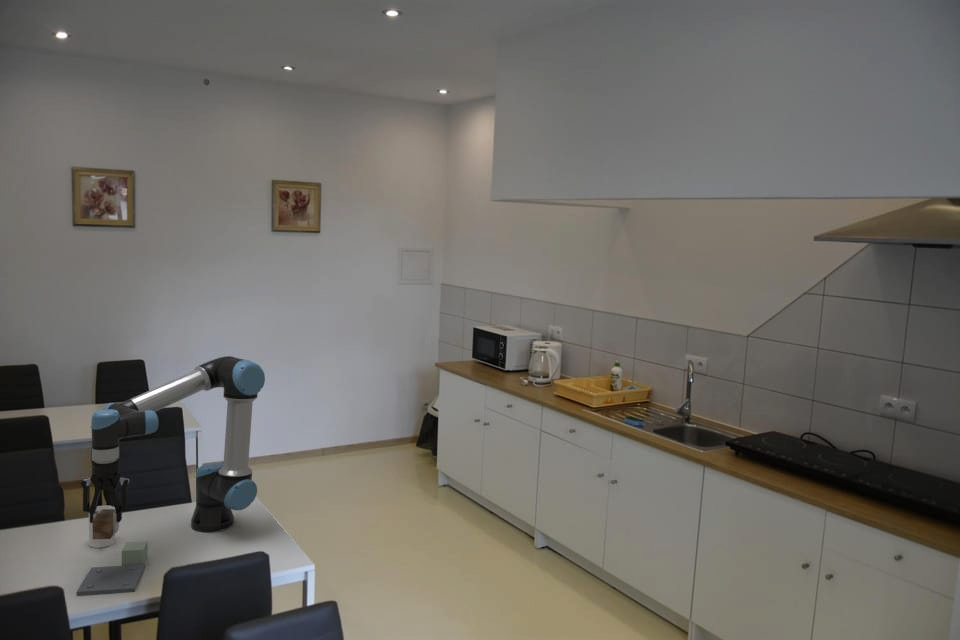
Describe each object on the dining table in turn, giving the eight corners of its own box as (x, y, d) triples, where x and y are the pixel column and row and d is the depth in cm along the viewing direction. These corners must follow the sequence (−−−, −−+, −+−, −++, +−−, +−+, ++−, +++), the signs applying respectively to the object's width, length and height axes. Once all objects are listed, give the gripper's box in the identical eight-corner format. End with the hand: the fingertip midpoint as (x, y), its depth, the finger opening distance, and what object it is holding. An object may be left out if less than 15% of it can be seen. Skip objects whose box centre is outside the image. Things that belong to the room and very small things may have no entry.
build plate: (145, 567, 232) (145, 563, 232) (134, 591, 217) (134, 587, 217) (91, 570, 228) (91, 566, 228) (76, 595, 213) (76, 591, 213)
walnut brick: (118, 527, 228) (118, 509, 227) (110, 538, 219) (110, 520, 218) (101, 527, 227) (101, 509, 226) (92, 539, 218) (92, 520, 217)
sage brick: (147, 558, 239) (147, 541, 238) (143, 567, 233) (143, 549, 232) (126, 559, 238) (126, 542, 237) (121, 568, 231) (121, 550, 231)
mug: (111, 551, 243) (111, 517, 241) (83, 553, 240) (82, 519, 239) (118, 536, 254) (117, 504, 253) (91, 538, 251) (90, 505, 250)
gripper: (140, 455, 226) (140, 526, 228) (77, 456, 222) (78, 528, 225) (133, 463, 219) (133, 535, 221) (69, 464, 215) (70, 538, 217)
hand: (106, 531), depth 223 cm, fingers closed on walnut brick, 5 cm apart
